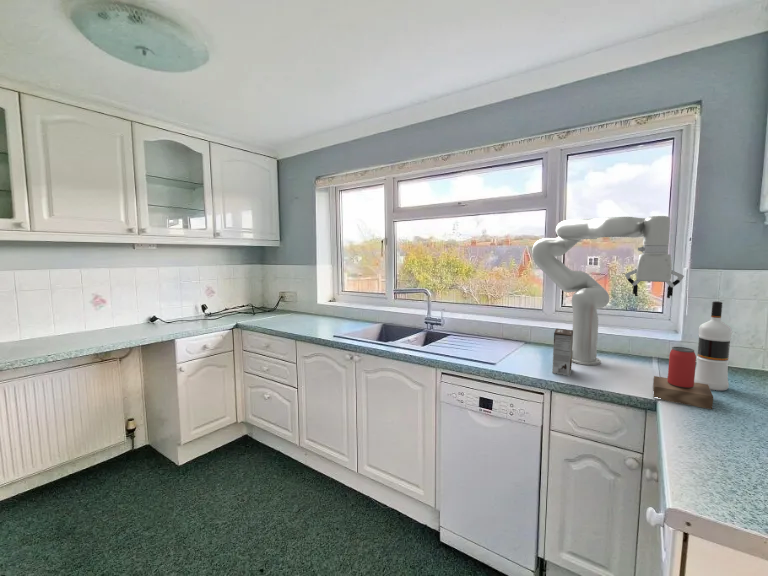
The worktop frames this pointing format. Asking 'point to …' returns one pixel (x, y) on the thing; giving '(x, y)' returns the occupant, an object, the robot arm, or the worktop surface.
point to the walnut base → (683, 393)
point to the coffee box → (562, 351)
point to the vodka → (713, 351)
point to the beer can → (681, 367)
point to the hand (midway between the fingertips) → (651, 296)
